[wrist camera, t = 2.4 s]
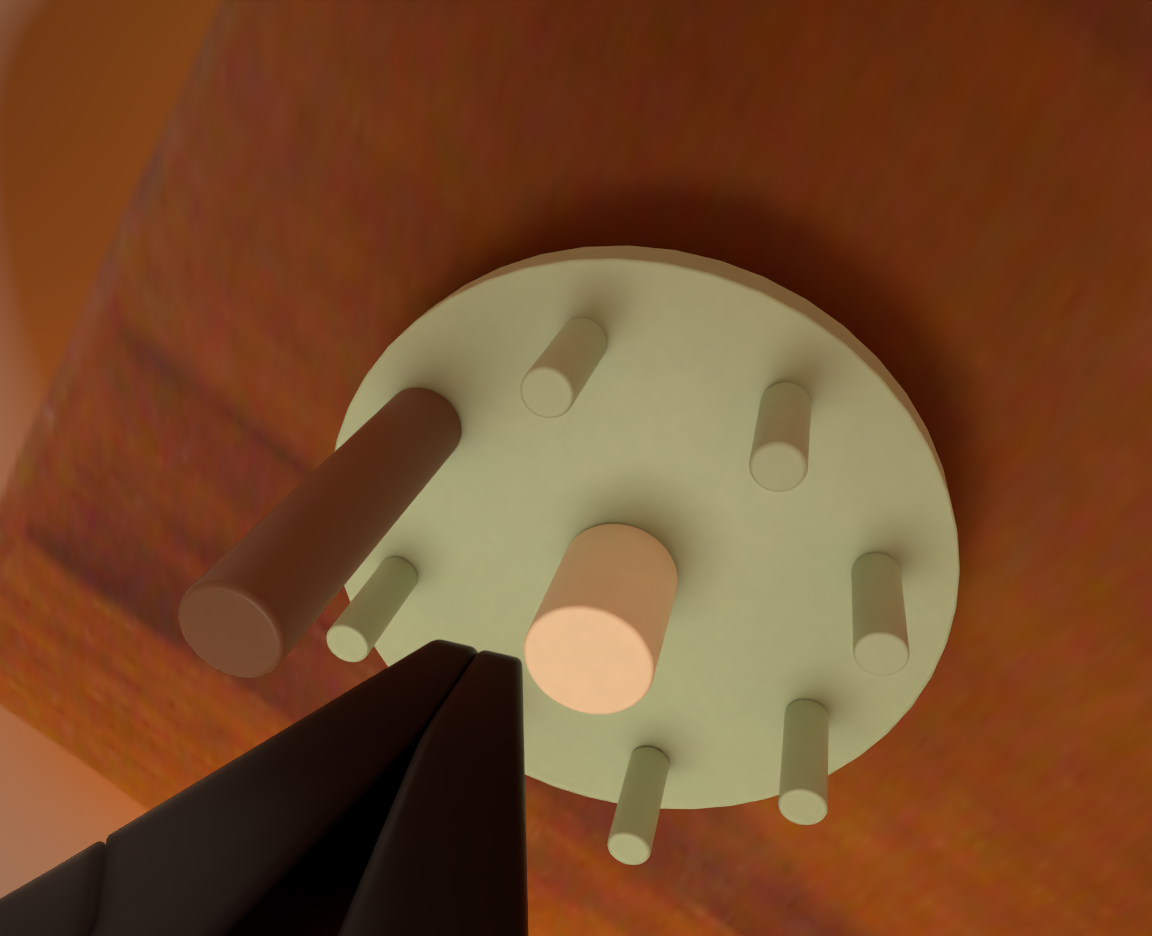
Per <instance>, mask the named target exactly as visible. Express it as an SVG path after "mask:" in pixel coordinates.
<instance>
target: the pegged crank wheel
mask: <svg viewBox="0 0 1152 936" xmlns="http://www.w3.org/2000/svg"><path fill="white" fill-rule="evenodd" d="M959 575H960V562H959V547H958V532H957V526H956V522H955V517H954V513H953V508H952V504H951V499H950V495H949V491H948V486H947V482H946V478H945V473H944V469H943V466H942V464H941V461H940V459H939V456H938V454H937V451H936V449H935V446H934V444H933V442H932V439H931V437H930V434H929V432H928V429H927V428H926V426H925V424H924V423H923V421H922V419H921V417H920V416H919V414H918V412H917V411H916V409H915V407H914V406H913V404H912V402H911V400H910V399H909V397H908V395H907V394H906V392H905V391H904V390H903V389H902V387H901V386H900V385H899V384H898V382H897V381H896V380H895V379H894V377H893V376H892V375H891V374H890V372H889V371H888V370H887V369H886V367H885V366H884V365H883V364H882V362H881V361H880V360H879V359H878V358H877V357H876V356H875V355H874V354H873V353H872V352H871V351H870V350H869V349H868V348H867V347H866V346H865V345H864V344H863V343H862V342H860V341H859V340H858V339H857V338H856V337H855V336H854V335H853V334H852V333H851V332H850V331H849V330H848V329H847V328H846V327H844V326H843V325H842V324H840V323H839V322H837V321H836V320H835V319H833V318H832V317H830V316H829V315H828V314H826V313H825V312H823V311H822V310H821V309H819V308H818V307H816V306H815V305H814V304H812V303H811V302H809V301H808V300H807V299H805V298H803V297H801V296H799V295H797V294H795V293H794V292H792V291H790V290H788V289H786V288H784V287H782V286H780V285H778V284H777V283H775V282H773V281H771V280H769V279H767V278H765V277H763V276H760V275H757V274H755V273H752V272H749V271H747V270H744V269H741V268H739V267H736V266H733V265H731V264H728V263H725V262H723V261H720V260H716V259H711V258H707V257H703V256H698V255H694V254H690V253H685V252H681V251H677V250H670V249H660V248H649V247H639V246H629V245H627V246H598V247H581V248H575V249H569V250H563V251H557V252H552V253H546V254H540V255H537V256H534V257H531V258H528V259H525V260H522V261H518V262H515V263H512V264H509V265H506V266H503V267H500V268H498V269H496V270H494V271H492V272H490V273H488V274H486V275H484V276H482V277H480V278H478V279H476V280H473V281H471V282H469V283H467V284H465V285H464V286H462V287H461V288H459V289H458V290H456V291H455V292H453V293H452V294H451V295H449V296H448V297H446V298H445V299H443V300H442V301H440V302H439V303H437V304H436V305H435V306H433V307H432V308H431V309H429V310H428V311H427V312H426V313H424V314H423V315H422V316H421V317H419V318H418V319H417V320H416V321H415V322H414V323H412V324H411V325H410V326H409V327H408V328H407V329H406V330H405V331H404V332H403V333H402V334H401V335H400V336H399V337H398V338H397V339H396V340H394V341H393V342H392V343H391V344H390V345H389V346H388V347H387V349H386V350H385V351H384V352H383V354H382V355H381V356H380V358H379V359H378V360H377V361H376V363H375V364H374V365H373V367H372V368H371V369H370V371H369V372H368V373H367V374H366V376H365V378H364V379H363V381H362V383H361V385H360V387H359V389H358V390H357V392H356V394H355V396H354V398H353V400H352V401H351V403H350V405H349V407H348V410H347V413H346V415H345V418H344V421H343V424H342V427H341V429H340V432H339V435H338V438H337V442H336V447H335V452H334V453H333V454H332V455H331V456H330V457H329V458H328V459H326V460H325V461H324V462H323V463H322V464H321V465H320V466H319V467H318V468H317V469H316V470H315V471H314V472H313V473H311V474H310V475H309V476H308V477H307V478H306V479H305V480H304V481H303V482H302V483H301V484H300V485H299V486H298V487H297V488H295V489H294V490H293V491H292V492H291V493H290V494H289V495H288V496H287V497H286V498H285V499H284V500H283V501H282V502H280V503H279V504H278V505H277V506H276V507H275V508H274V509H273V510H272V511H271V512H270V513H269V514H268V515H267V516H265V517H264V518H263V519H262V520H261V521H260V522H259V523H258V524H257V525H256V526H255V527H254V528H253V529H252V530H251V531H249V532H248V533H247V534H246V535H245V536H244V537H243V538H242V539H241V540H240V541H239V542H238V543H237V544H236V545H234V546H233V547H232V548H231V549H230V550H229V551H228V552H227V553H226V554H225V555H224V556H223V557H222V558H221V559H219V560H218V561H217V562H216V563H215V564H214V565H213V566H212V567H211V568H210V569H209V570H208V571H207V572H206V573H205V574H203V575H202V576H201V577H200V578H199V579H198V580H197V581H196V582H195V583H194V584H193V585H192V586H191V587H190V588H188V589H187V591H186V592H185V593H184V595H183V597H182V599H181V602H180V606H179V612H178V616H179V624H180V627H181V630H182V633H183V635H184V637H185V639H186V640H187V642H188V644H189V645H190V646H191V648H192V649H193V650H194V651H195V652H196V653H197V654H198V655H199V656H200V657H201V658H202V659H203V660H204V661H206V662H207V663H208V664H210V665H211V666H213V667H214V668H216V669H218V670H220V671H222V672H224V673H227V674H230V675H233V676H237V677H245V678H251V677H258V676H262V675H264V674H267V673H269V672H271V671H273V670H274V669H275V668H277V667H278V666H279V664H280V663H281V662H282V661H283V660H284V658H285V657H286V656H287V655H288V654H289V652H290V651H291V650H292V649H293V647H294V646H295V645H296V644H297V643H298V641H299V640H300V639H301V638H302V636H303V635H304V634H305V633H306V632H307V630H308V629H309V628H310V627H311V625H312V624H313V623H314V622H315V621H316V619H317V618H318V617H319V616H320V614H321V613H322V612H323V611H324V609H325V608H326V607H327V606H328V605H329V603H330V602H331V601H332V600H333V598H334V597H335V596H336V595H337V594H338V592H339V591H340V590H341V589H342V587H343V586H345V589H346V592H347V594H348V597H349V600H350V604H349V605H348V606H347V608H346V609H345V610H344V611H343V613H342V614H341V615H340V616H339V618H338V619H337V620H336V622H335V623H334V624H333V625H332V627H331V628H330V629H329V631H328V633H327V644H328V647H329V648H330V650H331V651H332V652H333V653H334V654H335V655H336V656H337V657H338V658H340V659H342V660H344V661H348V662H358V661H361V660H363V659H364V658H365V657H366V656H367V655H368V653H369V652H370V651H371V649H372V648H373V646H375V648H376V649H377V651H378V652H379V654H380V656H381V657H382V659H383V660H384V662H385V663H386V664H387V666H388V667H389V666H391V665H392V664H394V663H396V662H397V661H399V660H401V659H402V658H404V657H406V656H407V655H409V654H411V653H412V652H414V651H416V650H417V649H419V648H421V647H422V646H424V645H426V644H427V643H429V642H431V641H433V640H437V639H443V640H447V641H451V642H455V643H460V644H464V645H468V646H472V647H474V648H475V649H476V650H477V652H480V651H483V650H489V651H493V652H497V653H501V654H505V655H509V656H514V657H517V658H519V659H520V660H521V662H522V668H523V713H524V760H525V774H526V775H528V776H530V777H533V778H535V779H538V780H540V781H542V782H545V783H547V784H550V785H552V786H555V787H558V788H561V789H564V790H567V791H571V792H574V793H577V794H580V795H583V796H586V797H591V798H595V799H600V800H605V801H609V802H614V803H618V805H617V808H616V812H615V816H614V820H613V823H612V827H611V831H610V835H609V838H608V843H607V844H608V849H609V852H610V853H611V855H612V856H613V857H614V858H615V859H617V860H618V861H620V862H622V863H625V864H629V865H637V864H641V863H643V862H645V861H646V860H647V859H648V858H649V856H650V854H651V849H652V845H653V840H654V835H655V831H656V826H657V821H658V816H659V812H660V808H664V809H700V808H712V807H724V806H732V805H737V804H742V803H747V802H753V801H758V800H763V799H767V798H770V797H773V796H776V795H779V800H778V805H779V809H780V811H781V813H782V814H783V815H784V816H785V817H786V818H787V819H788V820H790V821H792V822H794V823H797V824H802V825H811V824H815V823H818V822H820V821H821V820H822V819H823V818H824V817H825V815H826V814H827V811H828V775H829V774H831V773H833V772H834V771H836V770H838V769H839V768H841V767H843V766H844V765H846V764H847V763H849V762H851V761H852V760H854V759H856V758H857V757H859V756H860V755H862V754H863V753H864V752H865V751H866V750H868V749H869V748H870V747H871V746H873V745H874V744H875V743H876V742H877V741H879V740H880V739H881V738H882V737H884V736H885V735H886V734H887V733H888V732H889V731H890V730H891V729H892V728H893V727H894V726H895V724H896V723H897V722H898V721H899V720H900V719H901V718H902V717H903V716H904V715H905V713H906V712H907V711H908V710H909V709H910V708H911V707H912V705H913V704H914V702H915V701H916V699H917V698H918V696H919V695H920V693H921V692H922V690H923V689H924V687H925V686H926V684H927V683H928V681H929V680H930V678H931V677H932V674H933V672H934V670H935V668H936V666H937V664H938V661H939V659H940V657H941V655H942V653H943V650H944V648H945V646H946V644H947V640H948V636H949V633H950V629H951V625H952V622H953V618H954V614H955V611H956V605H957V595H958V585H959Z"/></svg>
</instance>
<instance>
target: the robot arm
mask: <svg viewBox="0 0 1152 936" xmlns="http://www.w3.org/2000/svg"><path fill="white" fill-rule="evenodd" d="M0 936H528V900H527V853H526V806H525V760H524V713H523V668H522V662H521V660H520V659H519V658H517V657H514V656H509V655H505V654H501V653H497V652H493V651H489V650H483V651H480V652H477V650H476V649H475V648H474V647H472V646H468V645H464V644H460V643H455V642H451V641H447V640H443V639H437V640H433V641H431V642H429V643H427V644H426V645H424V646H422V647H421V648H419V649H417V650H416V651H414V652H412V653H411V654H409V655H407V656H406V657H404V658H402V659H401V660H399V661H397V662H396V663H394V664H392V665H391V666H389V667H387V668H386V669H384V670H383V671H381V672H379V673H378V674H376V675H374V676H373V677H371V678H369V679H368V680H366V681H364V682H363V683H361V684H359V685H358V686H356V687H354V688H353V689H351V690H349V691H348V692H346V693H344V694H343V695H341V696H339V697H338V698H336V699H334V700H333V701H331V702H329V703H328V704H326V705H324V706H323V707H321V708H319V709H318V710H316V711H314V712H313V713H311V714H309V715H308V716H306V717H304V718H303V719H301V720H299V721H298V722H296V723H294V724H293V725H291V726H289V727H288V728H286V729H284V730H283V731H281V732H280V733H278V734H276V735H275V736H273V737H271V738H270V739H268V740H266V741H265V742H263V743H261V744H260V745H258V746H256V747H255V748H253V749H251V750H250V751H248V752H246V753H245V754H243V755H241V756H240V757H238V758H236V759H235V760H233V761H231V762H230V763H228V764H226V765H225V766H223V767H221V768H220V769H218V770H216V771H215V772H213V773H211V774H210V775H208V776H206V777H205V778H203V779H201V780H200V781H198V782H196V783H195V784H193V785H191V786H190V787H188V788H186V789H185V790H183V791H181V792H180V793H178V794H177V795H175V796H173V797H172V798H170V799H168V800H167V801H165V802H163V803H162V804H160V805H158V806H157V807H155V808H153V809H152V810H150V811H148V812H147V813H145V814H143V815H142V816H140V817H138V818H137V819H135V820H133V821H132V822H130V823H128V824H127V825H125V826H124V827H122V828H120V829H118V830H117V831H115V832H114V833H112V834H110V835H109V836H108V838H107V841H106V845H105V843H103V842H96V843H95V844H93V845H91V846H89V847H88V848H86V849H85V850H83V851H81V852H79V853H78V854H76V855H74V856H73V857H71V858H70V859H68V860H66V861H65V862H63V863H61V864H60V865H58V866H56V867H55V868H53V869H51V870H49V871H48V872H46V873H44V874H42V875H41V876H39V877H37V878H35V879H34V880H32V881H30V882H29V883H27V884H25V885H24V886H21V887H20V888H18V889H16V890H15V891H13V892H11V893H9V894H8V895H6V896H4V897H2V898H1V899H0Z"/></svg>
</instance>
